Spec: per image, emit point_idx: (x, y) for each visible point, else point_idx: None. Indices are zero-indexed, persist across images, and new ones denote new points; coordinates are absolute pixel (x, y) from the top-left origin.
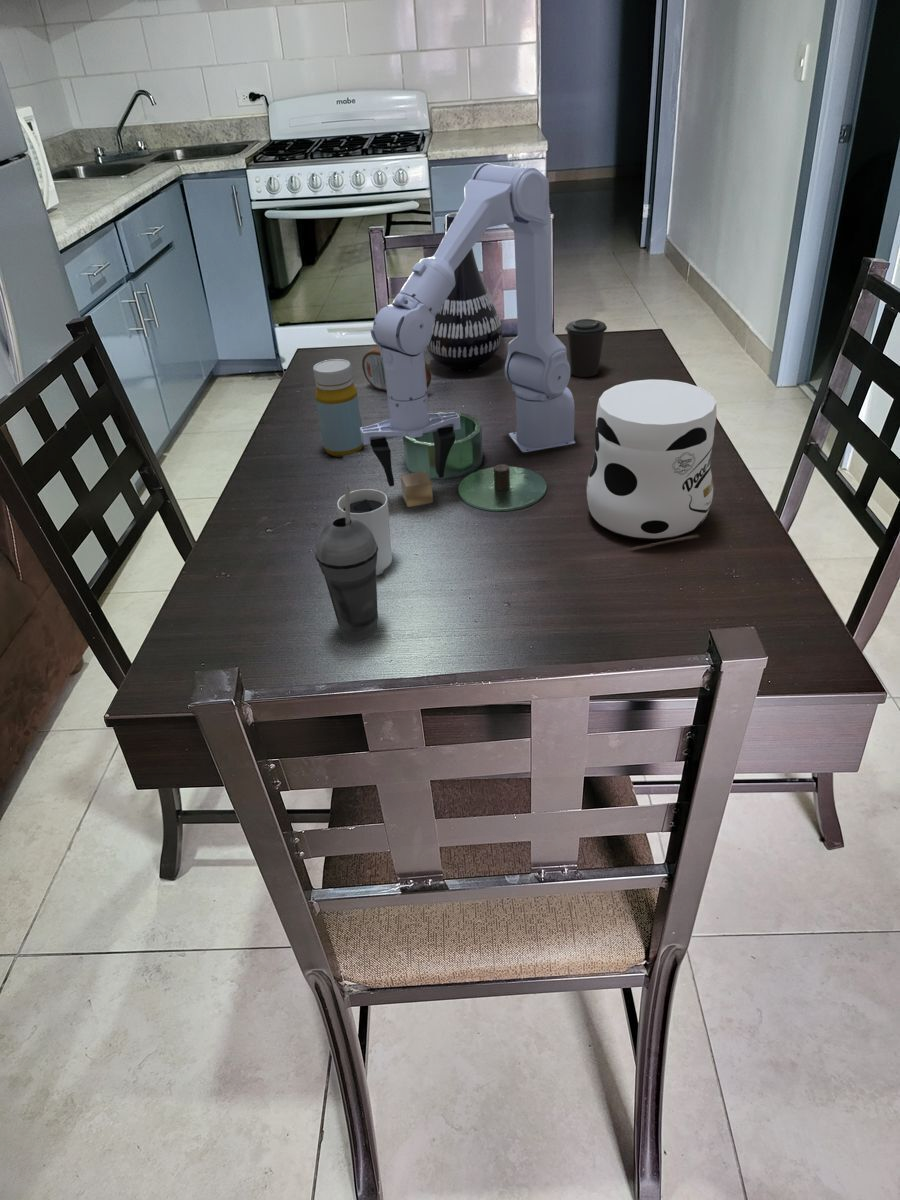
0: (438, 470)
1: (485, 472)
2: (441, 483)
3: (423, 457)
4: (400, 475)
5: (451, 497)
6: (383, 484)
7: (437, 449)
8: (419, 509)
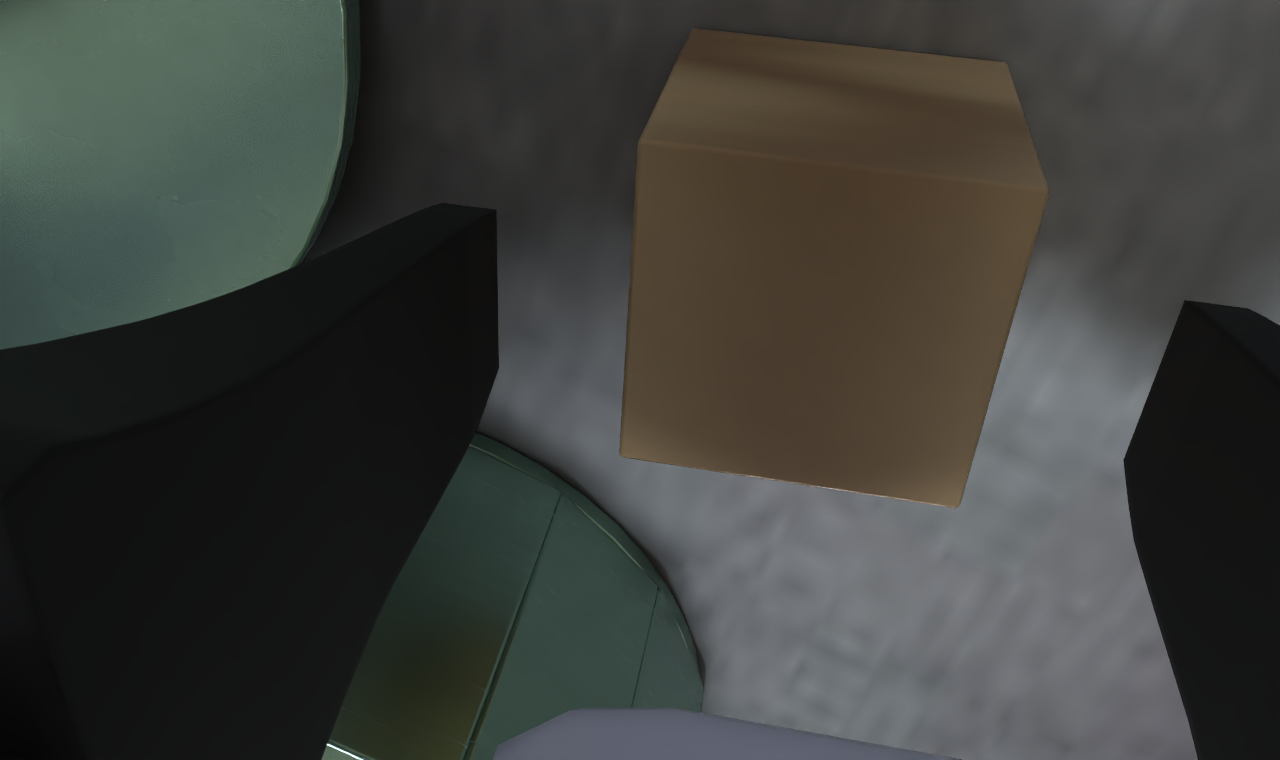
0: (466, 286)
1: (31, 326)
2: (485, 407)
3: (554, 699)
4: (960, 501)
5: (454, 110)
6: (989, 630)
7: (319, 528)
8: (875, 19)
